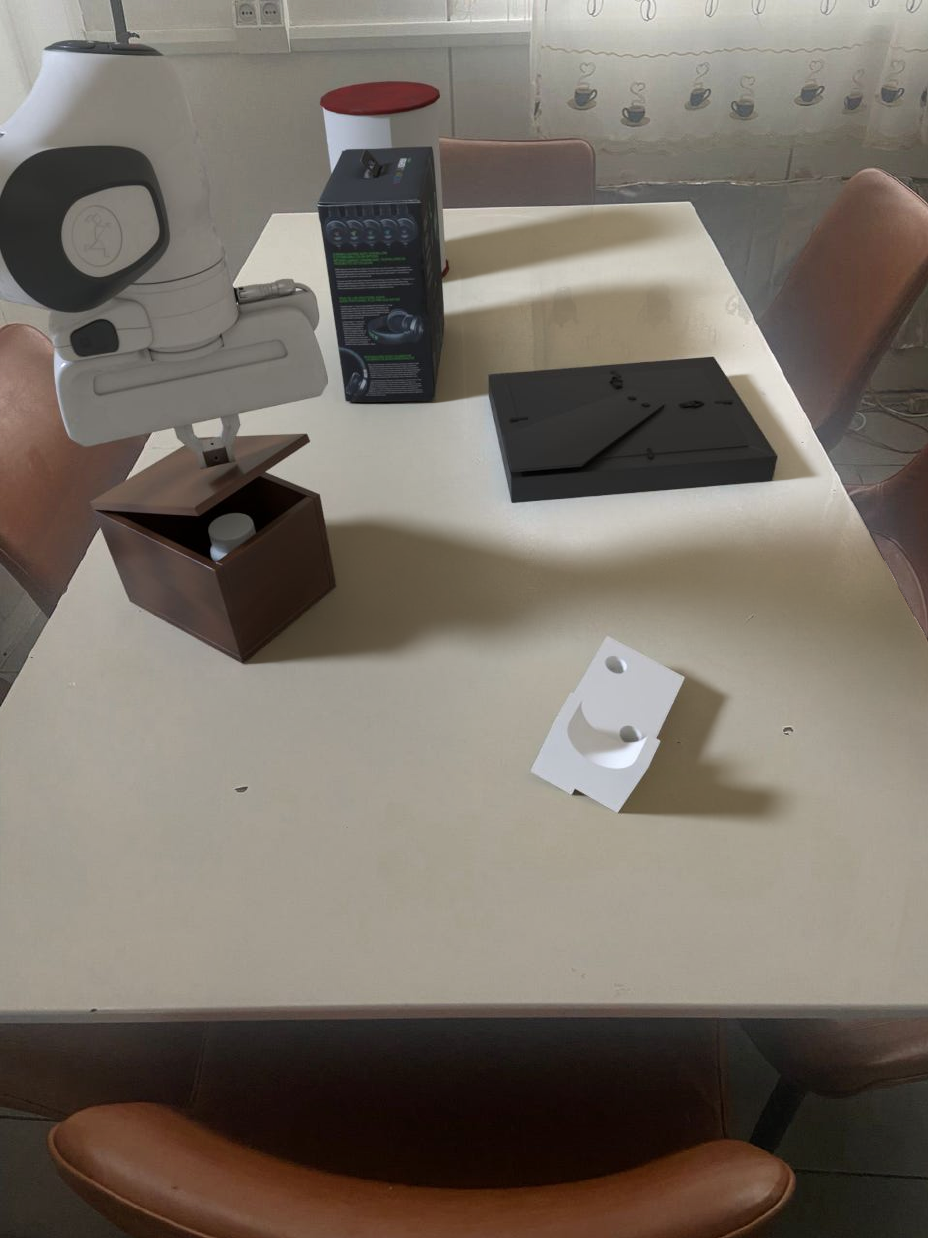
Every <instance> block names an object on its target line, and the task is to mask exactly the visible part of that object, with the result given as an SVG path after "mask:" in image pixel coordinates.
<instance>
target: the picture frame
mask: <svg viewBox="0 0 928 1238" xmlns="http://www.w3.org/2000/svg"><path fill="white" fill-rule="evenodd" d="M487 377H488V378H487V380H488V381H487V382H488V385H487V386H488V399H489V404H490V408H491V413H492V417H493V422H494V426H495V431H496V436H497V442H498V445H499V451H500V455H501V460H502V464H503V470H504V473H505V478H506V479H505V480H506V483H507V487H508V493H509V497H510V502H511V503H512V504H513V503H525V502H535V501H546V500H557V499H559V500H560V499H571V498H572V499H573V498H582V497H584V498H585V497H593V496H606V495H617V494H619V495H620V494H627V493H628V494H630V493H641V492H643V493H644V492H651V491H652V492H654V491H665V490H666V491H667V490H675V489H676V490H677V489H689V488H690V489H691V488H700V487H712V486H723V485H726V486H727V485H737V484H738V485H739V484H747V483H748V484H749V483H761V482H771V481H773V479H774V475H775V470H776V466H777V462H778V457H779V456H778V454H777V453H776V451H775V450H774V449H773V447H772V444H771V443H770V442H769V440H768V439H767V437H766V436H765V434H764V432H763V431H762V429H761V428H760V426H759V425H758V423H757V421H756V420H755V418H754V417H753V415H752V414H751V412H750V411H749V409H748V407H747V406H746V405H745V402H744V401H743V400H742V399H741V397H740V395H739V394H738V392H737V390H736V389H735V387H734V386H733V384H732V382H731V381H730V380H729V378H728V376H727V374H726V373H725V371H724V370H723V369H722V367H721V365H720V363H719V362H718V361H717V359H716V357H715V356H704V357H703V356H701V357H690V358H677V359H676V358H675V359H665V360H664V359H663V360H653V361H641V362H640V361H639V362H626V363H615V364H602V365H591V366H589V365H588V366H576V367H564V368H552V369H551V368H550V369H538V370H527V371H513V372H501V373H489V374H487Z"/></svg>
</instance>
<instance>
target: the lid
mask: <svg viewBox="0 0 928 1238" xmlns="http://www.w3.org/2000/svg"><path fill="white" fill-rule="evenodd" d="M215 437H216V436H205V437H204V436H203V437H198V438H199V439H200V440H206V439H211V438H215ZM310 442H311V439H310V437H309V435H308V433H288V434H287V433H285V434H280V433H279V434H257V435H236V438H235V440H234V443H233V445H232V449H233V453H234V457H235V462H231V463H230V462H229V463H226V464H222V465H217V466H213V467H209V468H205V469H201V468H200V465H199V462H198V458H197V455H196V453H194V452H193V451H191V450H190V449H189V448H188V447H187V446H186V445H184V444H183V445H182V446H181V447H179V448H177V449H176V450H174V451H172V452H171V453H169V454H167V455H165V456H164V457H162V458H160V459H159V460H157V461H155V462H154V463H152V464H150V465H148V466H147V467H146V468H144V469H142V470H141V471H139V472H137V473H136V474H134V475H132V476H131V477H129V478H127V479H125V480H124V481H122V482H121V483H119V484H117V485H116V486H114V487H112V488H111V489H109V490H107V491H105V492H104V493H102V494H100V495H99V496H97V497H96V498H94V499H92V500H90V501H89V504H90V505H91V507H92V509H93V511H94V510H108V511H124V512H140V513H156V514H172V515H188V516H200V515H202V514H203V513H205V512H206V511H208V510H209V509H211V508H212V507H214V506H215V505H217V504H218V503H220V502H221V501H223V500H224V499H226V498H227V497H229V496H230V495H232V494H233V493H235V492H236V491H238V490H239V489H240V488H242V487H243V486H245V485H246V484H248V483H249V482H251V481H252V480H254V479H255V478H257V477H258V476H260V475H261V474H263V473H264V472H267V471H269V470H270V469H272V468H274V467H275V466H276V465H278V464H280V463H281V462H282V461H284V460H285V459H287V458H289V457H290V456H291V455H293V454H294V453H296V452H297V451H299V450H301V449H302V448H303V447H305V446H306V445H309V443H310Z"/></svg>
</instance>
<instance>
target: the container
mask: <svg viewBox="0 0 928 1238" xmlns="http://www.w3.org/2000/svg"><path fill="white" fill-rule="evenodd" d="M440 98H441V93H440V90H439V89H438V88H437V87H435V86H433V85H431V84H426V83H423V82H415V81H406V80H405V81H403V80H401V81H400V80H399V81H398V80H397V81H396V80H395V81H394V80H392V81H391V80H388V81H386V80H385V81H373V82H372V81H370V82H363V83H357V84H351V85H347V86H343V87H342V86H341V87H338V88H335V89H333V90H330V91H328V92H326V93H324V94H323V95H322V96H321V97H320V101H319V105H320V106H321V107H322V111H323V120H324V127H325V128H324V129H325V135H326V142H327V149H328V158H329V164H330V165H329V166H330V172H331V174H332V172H333V170H334V168H335V166H336V164H337V162H338V160H339V158H340V156H341V153H342V150H343V151H345V150H347V149H380V148H402V147H430V146H432V148H433V155H434V167H435V180H436V193H437V207H438V222H439V238H440V253H441V269H442V278H444V277H446V275H447V273H448V272H449V270H450V265H449V264H450V263H449V260H448V259H447V257H446V241H445V240H446V239H445V225H444V222H445V221H444V208H443V207H444V205H443V188H442V187H443V186H442V185H443V184H442V171H441V170H442V169H441V151H440V134H439V133H440V132H439V131H440V130H439V114H438V113H439V111H438V100H439V99H440Z"/></svg>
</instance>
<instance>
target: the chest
mask: <svg viewBox="0 0 928 1238" xmlns="http://www.w3.org/2000/svg"><path fill="white" fill-rule="evenodd" d="M93 513H94V515H95V519H96V521H97V523H98V526H99V528H100V531H101V534H102V536H103V538H104V541H105V544H106V546H107V548H108V550H109V553H110V556H111V559H112V561H113V563H114V566H115V568H116V569H115V570H116V571H117V574H118V576H119V578H120V580H121V583H122V584H121V585H122V586H123V590H124V592H125V594H126V596H127V598H128V600H129V602H130V603H132V604H134V605H135V606H137V607H139V608H141V609H142V610H144V611H147V612H148V613H150V614H152V615H154V616H155V617H157V618H159V619H161V620H162V621H164V622H166V623H168V624H170V625H171V626H174V627H175V628H177V629H179V630H181V631H182V632H184V633H186V634H188V635H190V636H192V637H193V638H195V639H197V640H199V641H201V642H202V643H204V644H206V645H208V646H210V647H211V648H213V649H215V650H217V651H219V652H221V653H222V654H223V655H226V656H228V657H229V658H231V659H232V660H235V661H236V662H239V663H241V664H245V663H246V662H248V661H249V660H250V659H251V658H252V657H253V656H255V655H256V654H257V653H258V652H259V651H261V650H262V649H263V648H264V647H266V645H268V644H269V643H270V642H271V641H272V640H274V639H275V638H277V637H278V636H279V635H280V634H281V633H282V632H284V631H285V630H286V629H288V628H289V626H291V625H292V624H293V623H295V622H296V621H297V620H298V619H299V618H300V617H302V616H303V615H304V614H305V613H306V612H308V611H309V610H310V609H312V607H313V606H315V605H316V604H317V603H318V602H319V601H321V600H322V599H324V597H325V596H327V595H328V594H329V593H331V592H332V591H333V590H334V589H335V588H336V587H337V581H336V575H335V570H334V564H333V559H332V553H331V547H330V543H329V536H328V531H327V526H326V520H325V514H324V510H323V504H322V497H321V494H320V493H317V492H315V491H313V490H310V489H308V488H306V487H303V486H301V485H298V484H296V483H294V482H290V481H288V480H286V479H283V478H281V477H279V476H276V475H274V474H272V473H269V472H267V471H266V472H264V473H263V474H261V475H260V476H258V477H257V478H255V479H254V480H252V481H251V482H249V483H248V484H246V485H245V486H243V487H242V488H240V489H239V490H238V491H236V492H235V493H233V494H232V495H230V496H229V497H227V498H226V499H224V500H223V501H221V502H220V503H218V504H217V505H215V506H214V507H212V508H211V509H209V510H208V511H206V512H205V513H203V514H202V515H200V516H188V515H172V514H156V513H140V512H124V511H108V510H94V509H93ZM231 513H241V514H245V515H247V516H249V517H250V518H251V519H252V521H253V523H254V527H255V530H256V534H254V535H253V536H252V537H250V538H249V539H247V540H246V541H245V542H243V543H242V544H240V545H239V546H238V547H236V548H235V549H234V550H232V551H231V552H229V553H228V554H227V555H225V556H224V557H222V558H221V559H220V560H218V561H217V562H214V561H213V560H212V558H211V553H210V549H211V546H212V543H211V541H210V536H209V533H208V528H209V525H210V524H211V523H212V522H213V521H214V520H215V519H217V518H218V517H220V516H223V515H226V514H231Z"/></svg>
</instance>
